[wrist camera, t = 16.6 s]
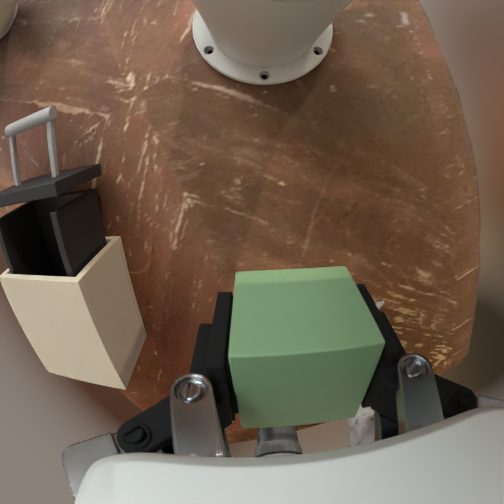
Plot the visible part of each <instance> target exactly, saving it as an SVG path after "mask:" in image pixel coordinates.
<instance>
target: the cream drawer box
mask: <svg viewBox="0 0 504 504" xmlns="http://www.w3.org/2000/svg"><path fill="white" fill-rule="evenodd" d="M106 241H107V245H106V246H105V247H104V248H103V249H102V250H101V251H100V252H99V253H98V254H97V255H96V256H95V257H94V258H93V259H92V260H91V261H90V262H89V263H88V264H87V265H86V266H85V267H84V268H83V270H82V271H81V272H80V273H79V274H78V275H77V276H76V277H62V276H40V275H21V274H11V273H10V270H9V268H8V269H7V270H6V271H5V272H4V273H3V274H1V275H0V282H1V284H2V287H3V289H4V291H5V294H6V296H7V298H8V300H9V303H10V305H11V307H12V309H13V311H14V313H15V315H16V317H17V319H18V321H19V323H20V325H21V327H22V329H23V330H24V332H25V334H26V336H27V338H28V339H29V341H30V343H31V345H32V347H33V348H34V350H35V352H36V353H37V355H38V356H39V358H40V360H41V361H42V363H43V364H44V366H45V368H46V369H47V371H48V372H51V373H55V374H58V375H62V376H65V377H69V378H74V379H77V380H81V381H85V382H90V383H94V384H99V385H104V386H109V387H114V388H119V389H125V390H126V389H127V386H128V383H129V380H130V378H131V375H132V372H133V370H134V367H135V364H136V362H137V359H138V357H139V354H140V352H141V349H142V347H143V344H144V342H145V339H146V337H147V333H146V330H145V327H144V324H143V321H142V318H141V314H140V311H139V308H138V304H137V301H136V297H135V294H134V290H133V286H132V282H131V278H130V275H129V271H128V266H127V262H126V258H125V254H124V249H123V245H122V240H121V236H107V237H106Z"/></svg>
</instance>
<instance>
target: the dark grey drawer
mask: <svg viewBox="0 0 504 504" xmlns="http://www.w3.org/2000/svg"><path fill="white" fill-rule="evenodd" d="M57 115H58V110H57V108H56V107H55V106H50V107H48V108H45V109H43V110H40V111H38V112H36V113H33V114H31V115H29V116H26V117H24V118H22V119H20V120H18V121H16V122H14V123H11V124H9V125H8V126H7V127H6V129H5V135H6V136H7V137H9V144H10V154H11V162H12V170H13V177H14V183H15V185H13V186H11V187H9V188H7V189H5V190H3V191H0V207H4V206H9V205H14V204H18V203H23V202H27V203H25V204H23V205H21V206H20V207H18V208H16V209H14V210H12V211H11V212H9V213H7V214H6V215H4V216H2V217H1V218H0V243H1V246H2V250H3V253H4V256H5V259H6V261H7V264H8V267H9V270H10V273H11V274H21V275H40V276H62V277H76V276H77V275H78V274H79V273H80V272H81V271H82V270H83V268H84V267H85V266H86V265H87V264H88V263H89V262H90V261H91V260H92V259H93V258H94V257H95V256H96V255H97V254H98V253H99V252H100V251H101V250H102V249H103V248H104V247H105V246H106V245H107V241H106V237H105V232H104V228H103V223H102V218H101V212H100V207H99V201H98V195H97V189H91V190H83V191H77V192H70V193H65V192H67V191H69V190H71V189H73V188H75V187H77V186H79V185H81V184H83V183H85V182H87V181H89V180H91V179H93V178H95V177H98V176H100V175H101V167H100V164H95V165H89V166H84V167H78V168H73V169H68V170H64V171H59V167H58V159H57V151H56V140H55V127H54V121H53V120H55V119H56V118H57ZM44 123H46V125H47V139H48V149H49V158H50V166H51V173H50V174H46V175H42V176H38V177H34V178H30V179H27V180H25V181H22V182H21V179H20V172H19V165H18V157H17V148H16V136H15V135H17V134H19V133H22V132H24V131H26V130H29V129H31V128H34V127H36V126H39V125H42V124H44ZM63 193H64V194H63Z"/></svg>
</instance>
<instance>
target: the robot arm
mask: <svg viewBox="0 0 504 504" xmlns="http://www.w3.org/2000/svg"><path fill="white" fill-rule="evenodd" d="M192 1H193V3H194V5H195V6H196V8H197V9H196V12H195V14H194V17H193V24H192V30H193V38H194V41H195V44H196V47H197V49H198V50H199V52H200V53H201V55H202V56H203V58H204V59H205V60H206V61H207V63H208V64H210V65H211V66H212V67H213V68H214V69H215V70H217V71H218V72H220V73H222V74H223V75H225V76H227V77H229V78H231V79H234V80H237V81H239V82H243V83H248V84H253V85H274V84H282V83H285V82H289V81H293V80H295V79H297V78H299V77H301V76H304V75H305V74H307V73H308V72H310V71H311V70H312V69H314V68H315V67H316V66H317V65H318V64H319V63H320V62H321V61H322V60H323V58H324V57H325V56H326V54H327V52H328V50H329V48H330V45H331V42H332V36H333V26H332V22H333V21H334V19H335V18H336V17H337V16H338V15H339V14H340V13H341V12H342V11H343V10H344V9H345V7H346V6H347V5H348V4H349V3H350V2H351V1H352V0H192ZM209 50H212V51H213V53H212V54H208V51H209ZM314 51H317V52H318V55H316V54H315V53H314ZM262 75H266V76H267V78H266V79H262V78H261V76H262ZM356 286H357V288H358V289H359V291H360V293H361V295H362V297H363V299H364V301H365V302H366V304H367V306H368V308H369V310H370V312H371V314H372V316H373V318H374V320H375V322H376V324H377V326H378V328H379V330H380V332H381V334H382V336H383V338H384V340H385V345H384V348H383V351H382V354H381V356H380V359H379V362H378V364H377V367H376V370H375V372H374V375H373V377H372V380H371V382H370V384H369V387H368V389H367V391H366V394H365V396H364V398H363V400H362V403H361V406H362V408H366V407H371V409H372V410H374V411H375V442H371V443H366V444H362V445H357V446H352V447H347V448H342V449H336V450H331V451H323V452H316V453H309V454H299V455H288V456H275V457H254V458H253V457H251V458H250V457H249V458H233V457H231V454H230V450H229V445H228V441H227V437H226V432H225V428H226V427H228V426H229V425H230V424H232V420H235V413H239V412H238V407H237V402H236V397H235V392H234V386H233V381H232V375H231V370H230V364H229V358H228V352H229V340H230V329H231V317H232V307H233V296H234V295H232V292H218V296H217V301H216V307H215V313H214V319H213V324H200V327H199V331H198V335H197V340H196V345H195V349H194V354H193V359H192V364H191V369H190V373H187V374H183V375H181V376H179V377H177V378H176V379H175V380H174V381H173V382H172V384H171V386H170V396H168V397H167V398H165V399H164V400H162V401H160V402H159V403H157V404H155V405H154V406H152V407H150V408H149V409H147V410H145V411H144V412H142V413H141V414H138V415H137V416H135V417H133V418H132V419H130V420H128V421H126V422H125V423H124V424H122V425H121V427H120V428H119V429H118V431H117V432H116V433H113V434H111V432H109V433H105V434H103V435H100V436H97V437H94V438H91V439H88V440H85V441H82V442H78V443H75V444H72V445H70V446H68V447H66V449H65V450H64V451H63V454H62V462H63V466H64V469H65V473H66V476H67V479H68V483H69V486H70V489H71V491H72V494H73V497H74V500H75V504H504V400H501V399H496V398H491V397H486V396H482V395H478V396H477V397H476V396H475V394H474V393H473V392H472V391H471V390H470V389H468V388H466V387H464V386H461V385H459V384H456V383H454V382H452V381H449V380H447V379H444V378H442V377H440V376H438V375H435V374H434V372H433V368H432V365H431V363H430V361H429V360H428V359H427V358H426V357H424V356H423V355H420V354H417V353H409V354H406V353H405V351H404V349H403V347H402V345H401V343H400V341H399V339H398V337H397V336H396V334H395V332H394V330H393V328H392V326H391V325H390V323H389V321H388V319H387V317H386V316H385V314H384V313H383V312H380V311H379V310H378V308H377V306H376V304H375V302H374V301H373V299H372V297H371V295H370V294H369V292H368V290H367V289H366V287H365V285H364V284H356Z"/></svg>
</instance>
